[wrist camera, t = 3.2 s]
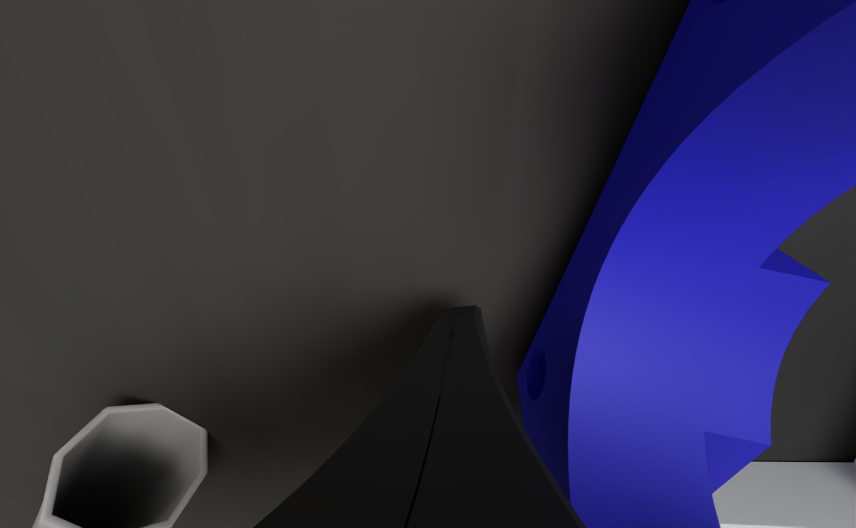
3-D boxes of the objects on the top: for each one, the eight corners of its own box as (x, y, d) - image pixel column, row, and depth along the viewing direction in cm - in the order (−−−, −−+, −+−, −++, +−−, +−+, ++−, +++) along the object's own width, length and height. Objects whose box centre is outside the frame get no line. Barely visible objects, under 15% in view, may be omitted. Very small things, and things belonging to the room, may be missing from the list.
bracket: (1511, -510, 4) (2434, -1017, 2) (875, 476, 12) (939, 547, 10) (655, -183, 5) (731, -291, 4) (620, 472, 14) (640, 532, 12)
